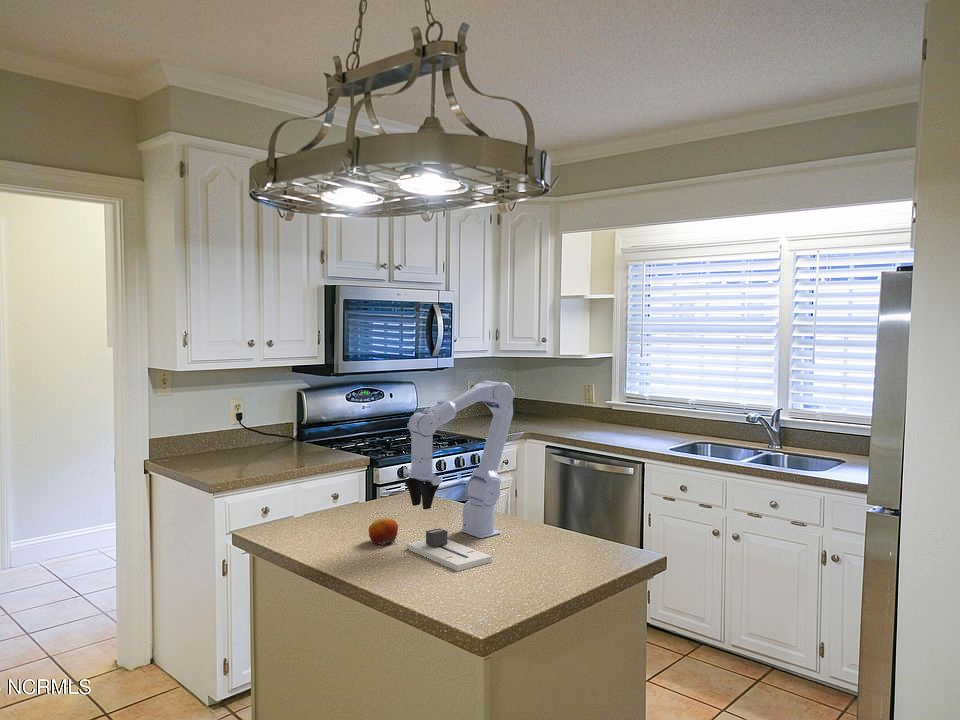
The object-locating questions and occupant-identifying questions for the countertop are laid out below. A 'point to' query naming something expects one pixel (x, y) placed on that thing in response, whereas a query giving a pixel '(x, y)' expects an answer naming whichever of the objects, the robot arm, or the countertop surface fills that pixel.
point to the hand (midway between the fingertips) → (421, 506)
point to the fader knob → (436, 537)
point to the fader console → (451, 554)
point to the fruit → (383, 531)
